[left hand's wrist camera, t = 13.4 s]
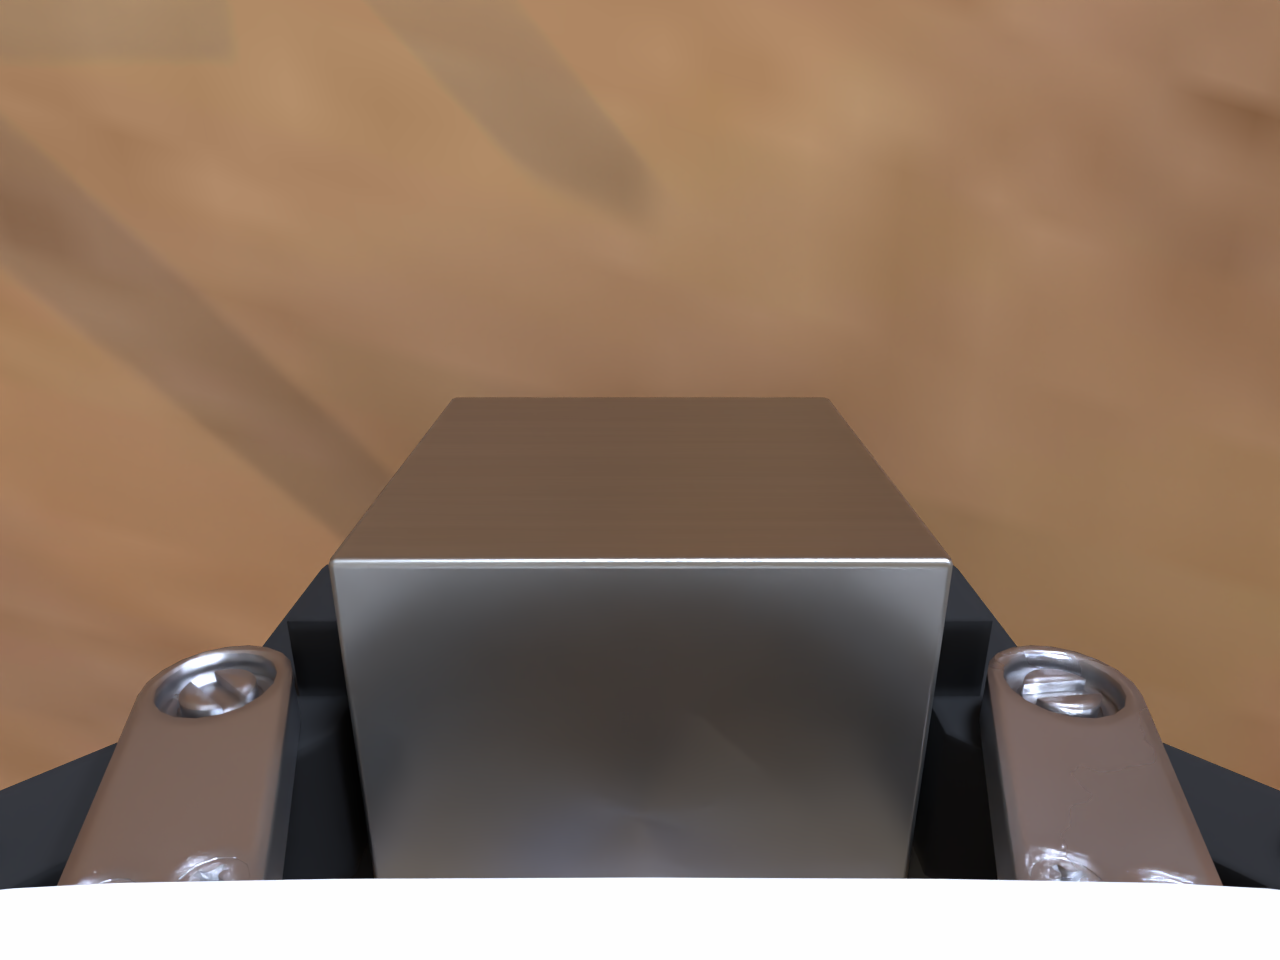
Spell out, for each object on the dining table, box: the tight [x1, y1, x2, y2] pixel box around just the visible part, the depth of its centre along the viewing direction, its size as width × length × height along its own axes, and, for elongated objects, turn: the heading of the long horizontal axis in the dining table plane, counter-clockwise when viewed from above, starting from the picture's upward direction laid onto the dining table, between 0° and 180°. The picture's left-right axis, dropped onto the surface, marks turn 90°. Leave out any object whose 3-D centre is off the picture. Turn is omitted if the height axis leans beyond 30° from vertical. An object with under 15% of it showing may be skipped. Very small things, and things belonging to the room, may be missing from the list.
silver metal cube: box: [329, 398, 953, 879], centre depth 10 cm, size 5×5×5 cm
